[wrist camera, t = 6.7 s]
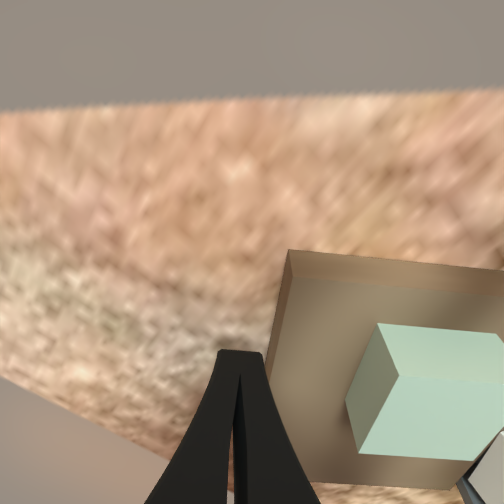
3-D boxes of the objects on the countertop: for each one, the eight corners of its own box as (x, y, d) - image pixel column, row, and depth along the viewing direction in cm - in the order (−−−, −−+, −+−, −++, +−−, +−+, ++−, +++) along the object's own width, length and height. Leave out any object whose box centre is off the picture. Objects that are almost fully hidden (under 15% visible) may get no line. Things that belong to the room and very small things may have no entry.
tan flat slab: (574, 278, 12) (612, 307, 11) (435, 458, 18) (449, 490, 17) (288, 249, 11) (292, 276, 10) (248, 446, 18) (248, 477, 16)
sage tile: (495, 333, 11) (538, 386, 10) (445, 407, 13) (473, 461, 12) (377, 322, 11) (399, 375, 9) (345, 399, 13) (358, 453, 12)
